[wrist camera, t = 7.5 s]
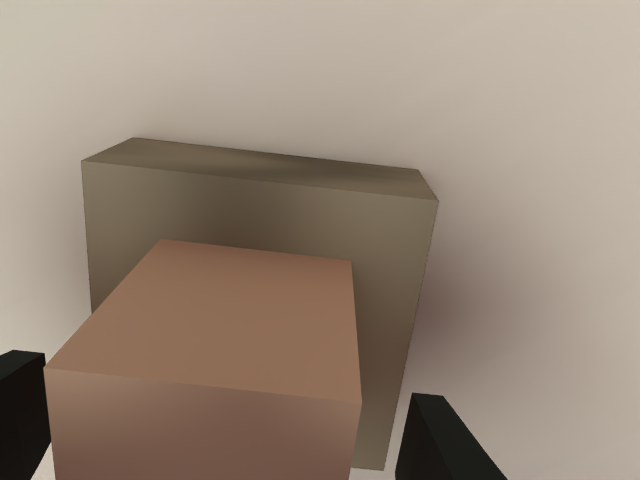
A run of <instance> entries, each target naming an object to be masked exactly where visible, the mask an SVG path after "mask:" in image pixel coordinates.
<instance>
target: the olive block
mask: <svg viewBox="0 0 640 480" xmlns="http://www.w3.org/2000/svg"><path fill="white" fill-rule="evenodd" d="M81 167H82V181H83V195H84V210H85V224H86V238H87V253H88V267H89V281H90V295H91V310H92V314H93V312H94V311H95V310H96V309H97V308H98V307H99V306H100V305H101V304H102V303H103V301H104V300H105V299H106V298H107V297H108V296H109V295H110V294H111V293H112V292H113V291H114V289H115V288H116V287H117V286H118V285H119V284H120V283H121V282H122V281H123V280H124V278H125V277H126V276H127V275H128V274H129V273H130V272H131V271H132V270H133V269H134V267H135V266H136V265H137V264H138V263H139V262H140V261H141V260H142V259H143V258H144V256H145V255H146V254H147V253H148V252H149V251H150V250H151V249H152V248H153V247H154V245H155V244H156V243H157V242H158V241H159V240H160V239H167V240H176V241H184V242H193V243H202V244H210V245H219V246H228V247H236V248H245V249H254V250H262V251H271V252H280V253H289V254H297V255H306V256H315V257H323V258H332V259H341V260H349V261H351V264H352V277H353V290H354V304H355V317H356V330H357V343H358V356H359V369H360V382H361V395H362V407H361V412H360V418H359V423H358V429H357V435H356V440H355V446H354V451H353V457H352V463H351V468H361V469H370V470H380V471H384V467H385V462H386V457H387V452H388V447H389V442H390V437H391V432H392V427H393V423H394V418H395V413H396V408H397V403H398V398H399V393H400V388H401V383H402V379H403V374H404V369H405V364H406V359H407V354H408V349H409V344H410V339H411V335H412V330H413V325H414V320H415V315H416V310H417V305H418V300H419V295H420V290H421V286H422V281H423V276H424V271H425V266H426V261H427V256H428V251H429V246H430V242H431V237H432V232H433V227H434V222H435V217H436V212H437V207H438V202H439V200H438V199H437V198H436V196H435V195H434V193H433V192H432V190H431V189H430V187H429V186H428V184H427V183H426V181H425V180H424V178H423V177H422V175H421V174H420V172H419V171H418V170H414V169H405V168H397V167H388V166H379V165H370V164H361V163H352V162H344V161H335V160H326V159H317V158H308V157H299V156H290V155H282V154H273V153H264V152H255V151H246V150H237V149H228V148H220V147H211V146H202V145H193V144H184V143H175V142H167V141H158V140H149V139H140V138H131V139H129V140H126V141H124V142H122V143H120V144H117V145H115V146H113V147H111V148H108V149H106V150H104V151H102V152H100V153H97V154H95V155H93V156H91V157H88V158H86V159H84V160H82V161H81Z"/></svg>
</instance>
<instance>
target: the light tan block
mask: <svg viewBox="0 0 640 480" xmlns="http://www.w3.org/2000/svg"><path fill="white" fill-rule="evenodd" d="M43 370H44V379H45V388H46V397H47V406H48V415H49V424H50V433H51V443H52V452H53V461H54V470H55V479H56V480H348V479H349V474H350V468H351V463H352V457H353V451H354V446H355V440H356V435H357V429H358V423H359V418H360V412H361V407H362V395H361V382H360V369H359V356H358V343H357V330H356V317H355V304H354V290H353V277H352V264H351V261H349V260H341V259H332V258H323V257H315V256H306V255H297V254H289V253H280V252H271V251H262V250H254V249H245V248H236V247H228V246H219V245H210V244H202V243H193V242H184V241H176V240H167V239H160V240H159V241H158V242H157V243H156V244H155V245H154V247H153V248H152V249H151V250H150V251H149V252H148V253H147V254H146V255H145V256H144V258H143V259H142V260H141V261H140V262H139V263H138V264H137V265H136V266H135V267H134V269H133V270H132V271H131V272H130V273H129V274H128V275H127V276H126V277H125V278H124V280H123V281H122V282H121V283H120V284H119V285H118V286H117V287H116V288H115V289H114V291H113V292H112V293H111V294H110V295H109V296H108V297H107V298H106V299H105V300H104V301H103V303H102V304H101V305H100V306H99V307H98V308H97V309H96V310H95V311H94V312H93V314H92V315H91V316H90V317H89V318H88V319H87V320H86V321H85V322H84V323H83V325H82V326H81V327H80V328H79V329H78V330H77V331H76V332H75V333H74V334H73V336H72V337H71V338H70V339H69V340H68V341H67V342H66V343H65V344H64V345H63V347H62V348H61V349H60V350H59V351H58V352H57V353H56V354H55V355H54V356H53V358H52V359H51V360H50V361H49V362H48V363H47V364H46V365H45V366H44V367H43Z"/></svg>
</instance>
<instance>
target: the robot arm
mask: <svg viewBox="0 0 640 480" xmlns="http://www.w3.org/2000/svg"><path fill="white" fill-rule="evenodd" d="M45 365H46V362H45V353H38V352H29V351H19V350H12V351H9V352H7V353H5V354H2V355H0V480H31V478H32V476H33V475H34V473H35V471H36V469H37V467H38V466H39V464H40V462H41V460H42V458H43V456H44V454H45V452H46V450H47V448H48V446H49V444H50V442H51V433H50V424H49V415H48V406H47V397H46V388H45V379H44V370H43V367H44V366H45ZM395 478H396V480H508V479H507V478H506V477H505V476H504V474H503V473H502V472H501V471H500V470H499V468H498V467H497V466H496V465H495V463H494V462H493V461H492V460H491V458H490V457H489V456H488V454H487V453H486V452H485V451H484V449H483V448H482V447H481V445H480V444H479V443H478V441H477V440H476V439H475V437H474V436H473V435H472V434H471V432H470V431H469V430H468V428H467V427H466V426H465V424H464V423H463V422H462V420H461V419H460V417H459V416H458V415H457V413H456V412H455V411H454V410H453V408H452V407H451V406H450V404H449V403H448V402H447V400H446V399H445V398H444V396H440V395H430V394H421V393H412V396H411V400H410V405H409V410H408V414H407V419H406V424H405V428H404V433H403V437H402V442H401V447H400V451H399V456H398V461H397V465H396V470H395Z"/></svg>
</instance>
